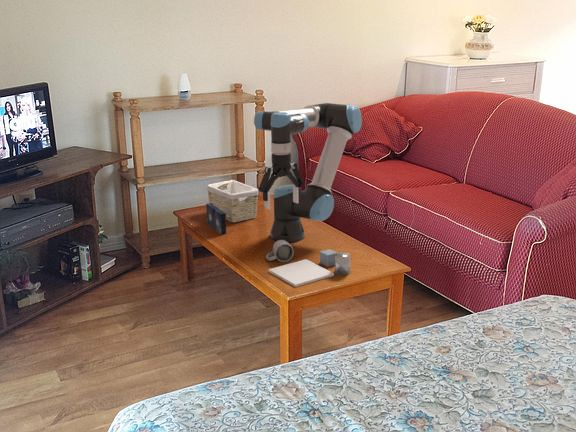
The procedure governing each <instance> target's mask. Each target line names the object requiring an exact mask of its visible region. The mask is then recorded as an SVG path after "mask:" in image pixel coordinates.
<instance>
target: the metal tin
mask: <svg viewBox="0 0 576 432" xmlns="http://www.w3.org/2000/svg"><path fill="white" fill-rule="evenodd" d="M351 258H352V256H351V253H348V252H337V253H336V254H335V265H334V274H336V275H338V276H347V275H350V274H351V262H352V261H351Z"/></svg>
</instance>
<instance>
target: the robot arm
mask: <svg viewBox="0 0 576 432" xmlns="http://www.w3.org/2000/svg"><path fill="white" fill-rule="evenodd" d="M253 124H254V127H255V128H256V129H258V130H261V131H269V132H270V134H271V136H270V137H271V139H270V140H271V141H270V143H271V144H270V147H271V149H270V152H271V164H272V166H271V167H268V166H266V167H264V173H263V175H262V178H261V181H260V183H259V187H258V188H257V189H258V192H261V193H262V200H263V201H264V208H265V209H267V210H271V193H270V190H271V189H272V186H273V185H274V183H275V182H276V180H278V179H279V178H282V177H287V178H288V179H289V180H290V182H291V183H292V184H284V185H279V186H277V187H276V188H275V189H274V190H273V198H272V199H273V222H272V226H271V230H270V238H271V239H272V240H273V241H275V242H276V241H278V240H285V241H287V242H288V243H291V242H298V241H301V240H303V239H304V238H305V229H304V227H303V224H302V220H301V219H307V220H311V221H317V222H318V221H320V222H323V221H325V220H327V219H328V218H330V216H331V215H332V213H333V211H334V208H335V199H334V197H333V191H332V190H331V189H332V186H333V182H334V180H335V177H336V173H337V171H338V168H339V165H340V163H341V160H342V156H343V154H344V151H345V147H346V145H347V141H349V140H351V139H352V137H353V135H354V134H356V133H357V134H358V132H360V130H361V129H362V124H363V117H362V112H361V110H360V108H359V107H358V106H356V105H351V104H339V103H330V102H323V103H318V104H317V103H316V104H312V105H306V106H304V108H294V109H285V110H275V111H266V110H263V111H262V110H259V111H257V112H256V113H255V114H254V117H253ZM308 128H318V129H322V130H323V129H324V130H326V132H327V138H326V140H325V143H324V146H323V149H322V151H321V154H320V158H319V160H318V163H317V167H316V168H315V172H314V174H313V177H312V181H311V183H308V184H307V185H306V187H305V189H304V190H301V189H302V186H303V185H305V181H304V178H303V177H302V175H301V173H300V170H299V167H298V163H296V162H292V154H291V152H292V149H291V148H292V146H291V145H292V143H291V140H292V139H291V137H292V136H293V135H297V134H301V133H303V132H305V131H306V130H308ZM291 170H292V172H293V173H292V172H291ZM293 174H294V175H293Z"/></svg>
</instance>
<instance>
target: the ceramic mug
mask: <svg viewBox="0 0 576 432" xmlns="http://www.w3.org/2000/svg"><path fill="white" fill-rule="evenodd" d="M294 253H295V252H294V248H293V246H292V245H291V244H290V242H287V241H285V240H278V241H276V240H275V242H274V243H273V246H272V251H270V252H268V253H267V254H266V256H265V259H266V260H267V261H269V262H271V261H274V260H276V259H277V261H279V262H280V263H287V262H289V261H290V260H292V259H293V257H294Z"/></svg>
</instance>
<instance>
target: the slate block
mask: <svg viewBox="0 0 576 432" xmlns="http://www.w3.org/2000/svg"><path fill="white" fill-rule="evenodd" d="M336 253H338V251H335V250H332V249H330V248H329V249H325V250H321V251H319V264H320V265H323V266H325V267H326V268H328V267H333V266H335V254H336Z"/></svg>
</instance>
